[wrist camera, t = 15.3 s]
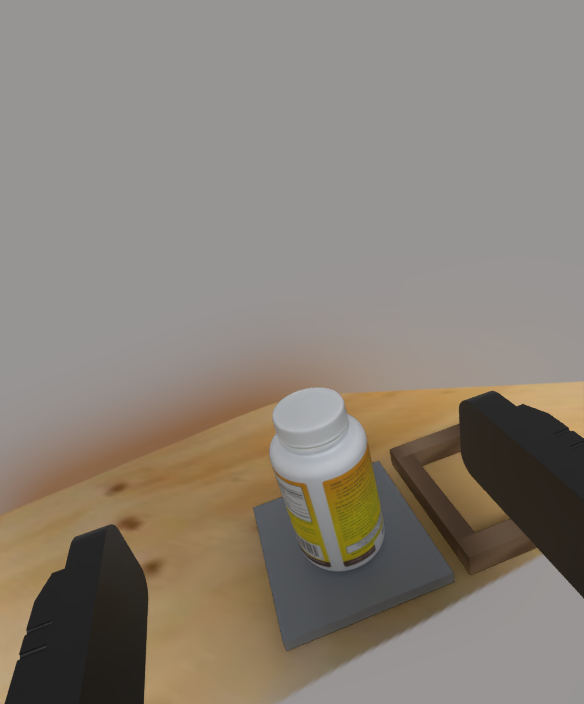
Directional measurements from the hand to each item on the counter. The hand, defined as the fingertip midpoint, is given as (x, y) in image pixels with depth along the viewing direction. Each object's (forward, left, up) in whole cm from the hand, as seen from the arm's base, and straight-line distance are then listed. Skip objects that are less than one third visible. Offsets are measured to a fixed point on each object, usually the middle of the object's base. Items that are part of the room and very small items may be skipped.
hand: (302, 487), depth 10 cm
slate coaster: (+2, +12, -17) cm, 21 cm away
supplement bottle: (+2, +12, -17) cm, 20 cm away
